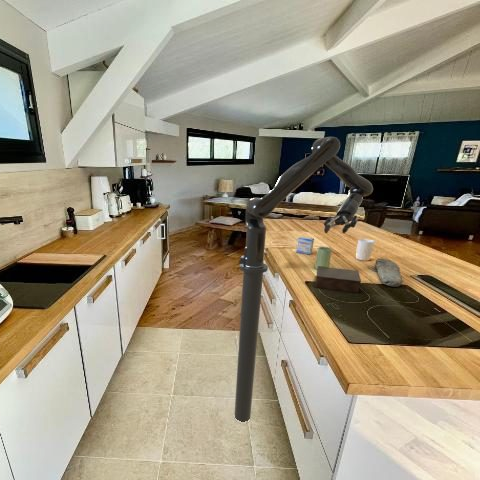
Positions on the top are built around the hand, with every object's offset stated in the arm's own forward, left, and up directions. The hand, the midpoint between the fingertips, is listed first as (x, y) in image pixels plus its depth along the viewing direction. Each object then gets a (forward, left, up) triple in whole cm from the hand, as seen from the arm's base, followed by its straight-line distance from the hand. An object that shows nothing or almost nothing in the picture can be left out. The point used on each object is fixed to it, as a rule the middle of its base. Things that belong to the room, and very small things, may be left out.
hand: (334, 231), depth 148 cm
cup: (-3, -4, -17) cm, 18 cm away
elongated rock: (+25, -3, -18) cm, 31 cm away
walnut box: (+3, -25, -17) cm, 30 cm away
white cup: (+17, +22, -18) cm, 33 cm away
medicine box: (-13, +23, -18) cm, 32 cm away
